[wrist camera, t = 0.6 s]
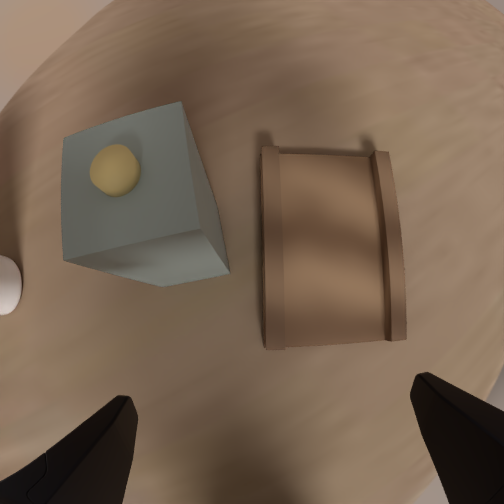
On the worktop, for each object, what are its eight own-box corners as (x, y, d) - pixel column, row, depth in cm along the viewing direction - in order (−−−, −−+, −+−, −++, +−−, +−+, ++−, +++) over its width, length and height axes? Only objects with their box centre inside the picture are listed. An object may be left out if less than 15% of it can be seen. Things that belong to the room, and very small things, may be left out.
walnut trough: (396, 337, 22) (407, 339, 20) (263, 346, 22) (264, 350, 20) (380, 162, 24) (389, 151, 22) (260, 158, 24) (260, 146, 22)
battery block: (230, 273, 22) (196, 221, 9) (162, 287, 22) (50, 256, 9) (217, 207, 23) (176, 88, 10) (153, 221, 23) (54, 128, 10)
